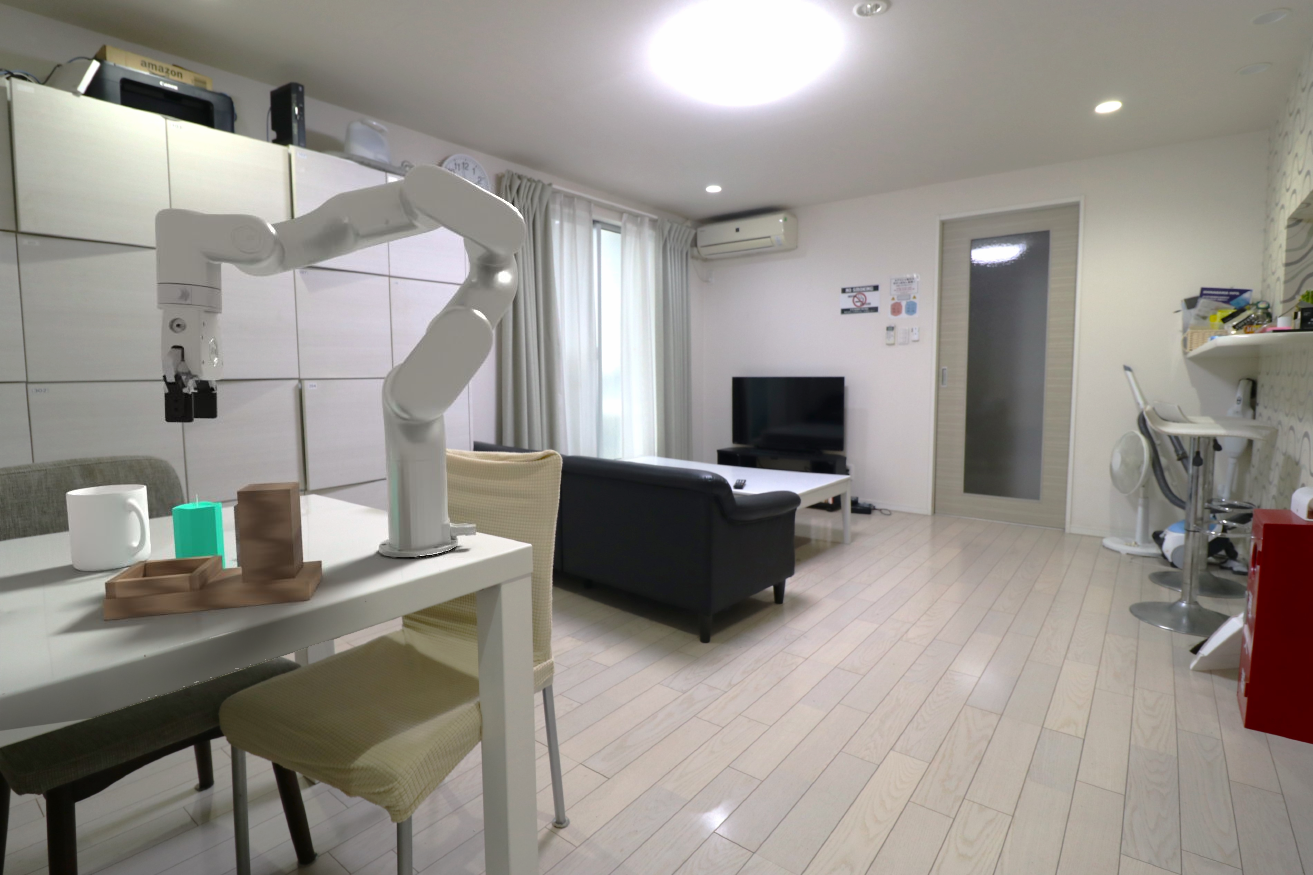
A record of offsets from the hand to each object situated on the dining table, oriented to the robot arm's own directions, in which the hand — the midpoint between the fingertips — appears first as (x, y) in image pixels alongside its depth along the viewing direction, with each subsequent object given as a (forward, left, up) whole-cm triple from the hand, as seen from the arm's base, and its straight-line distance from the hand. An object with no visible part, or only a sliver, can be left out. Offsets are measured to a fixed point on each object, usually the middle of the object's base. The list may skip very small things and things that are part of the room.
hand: (192, 420), depth 93 cm
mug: (+14, -10, -23) cm, 29 cm away
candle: (0, +1, -23) cm, 23 cm away
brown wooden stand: (-6, +13, -23) cm, 27 cm away
